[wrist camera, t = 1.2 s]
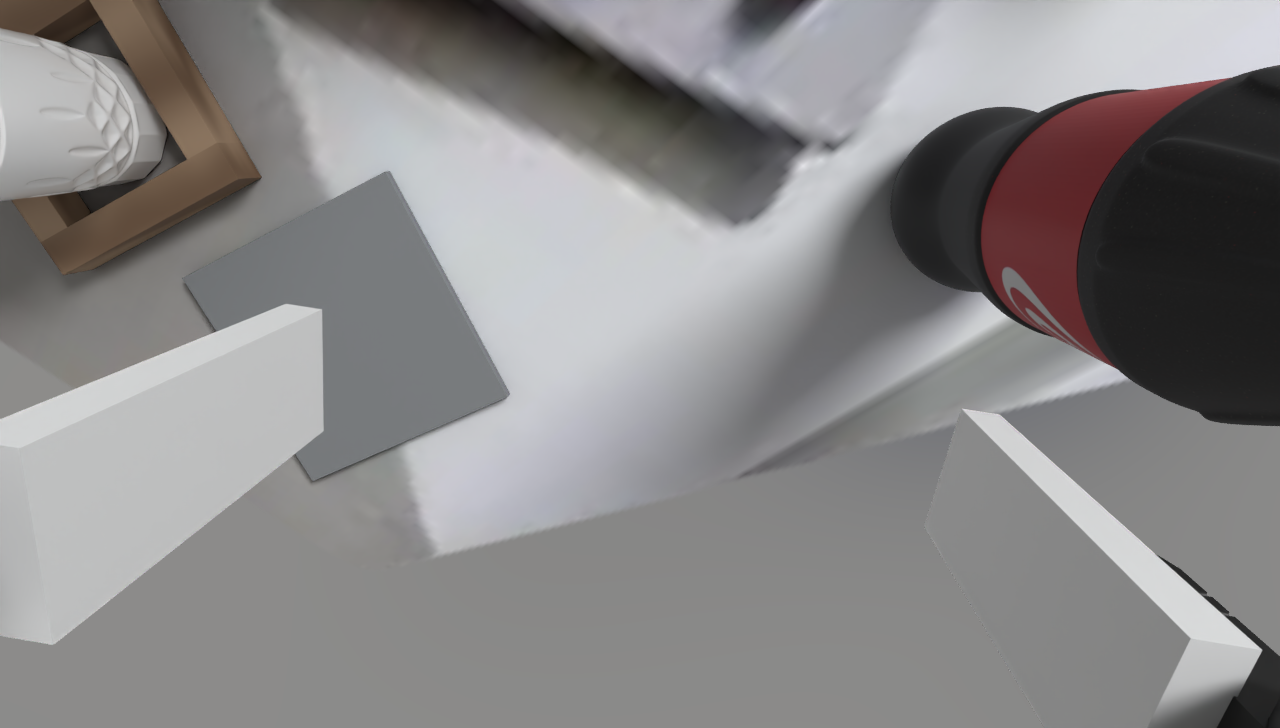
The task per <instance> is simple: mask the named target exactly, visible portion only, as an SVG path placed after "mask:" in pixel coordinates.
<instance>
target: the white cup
mask: <svg viewBox="0 0 1280 728" xmlns="http://www.w3.org/2000/svg"><path fill="white" fill-rule="evenodd" d="M166 138H167V132H166V126H165V123H164V121H163V120H162V118H161V116H160V115H159V113H158V111H157V110H156V108H155V106H154V105H153V103H152V102H151V100H150V98H149V97H148V95H147V93H146V92H145V90H144V89H143V87H142V85H141V84H140V82H139V80H138V79H137V77H136V75H135V74H134V72H133V71H132V69H131V68H130V67H129V66H127V65H126V64H125V63H124V62H122V61H121V60H119V59H116V58H112V57H108V56H104V55H99V54H95V53H91V52H87V51H82V50H79V49H75V48H72V47H69V46H67V45H65V44H63V43H60V42H56V41H51V40H47V39H44V38H40V37H37V36H34V35H29V34H24V33H20V32H15V31H11V30H7V29H2V28H0V201H6V200H15V199H24V198H33V197H42V196H50V195H57V194H64V193H71V192H75V191H84V190H90V189H95V188H97V187H101V186H111V185H119V184H124V183H127V182H131V181H135V180H139V179H143V178H145V177H146V176H147V175H148V174H149V173H150V171H151V170H152V169H153V168H154V167H155V166H156V165H157V164H158V163H159V162H160V161H161V158H162V154H163V150H164V146H165V142H166Z"/></svg>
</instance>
